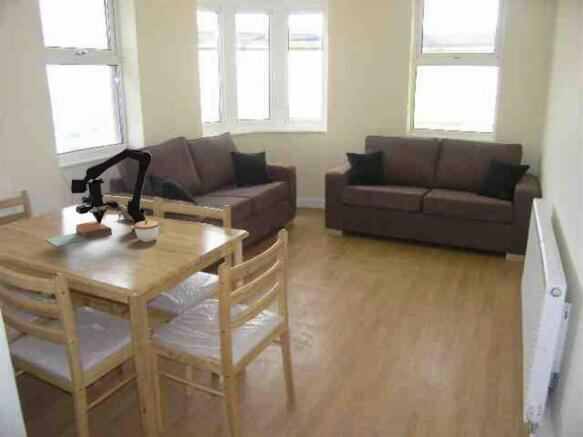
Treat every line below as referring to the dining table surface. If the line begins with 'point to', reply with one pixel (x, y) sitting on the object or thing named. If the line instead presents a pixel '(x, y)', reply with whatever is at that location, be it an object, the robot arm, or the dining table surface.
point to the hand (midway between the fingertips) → (99, 224)
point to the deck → (96, 232)
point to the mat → (66, 239)
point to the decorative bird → (124, 212)
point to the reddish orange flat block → (88, 226)
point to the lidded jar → (146, 230)
